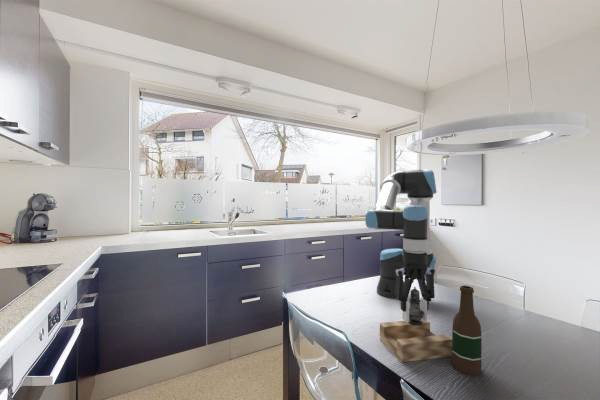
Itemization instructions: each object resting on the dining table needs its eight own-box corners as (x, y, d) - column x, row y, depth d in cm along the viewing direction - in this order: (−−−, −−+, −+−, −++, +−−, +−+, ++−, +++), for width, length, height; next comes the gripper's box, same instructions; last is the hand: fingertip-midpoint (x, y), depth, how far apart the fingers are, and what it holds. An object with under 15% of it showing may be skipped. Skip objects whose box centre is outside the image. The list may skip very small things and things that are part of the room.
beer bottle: (487, 370, 78) (487, 288, 78) (475, 380, 73) (475, 293, 73) (458, 357, 84) (458, 281, 84) (446, 365, 79) (446, 285, 79)
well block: (424, 333, 98) (424, 319, 98) (454, 356, 84) (454, 339, 84) (379, 338, 95) (379, 322, 95) (402, 362, 81) (402, 344, 81)
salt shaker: (401, 319, 91) (401, 285, 91) (414, 317, 93) (414, 283, 93) (414, 327, 86) (414, 290, 86) (428, 324, 88) (428, 288, 88)
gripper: (432, 248, 95) (432, 313, 95) (383, 249, 92) (383, 316, 92) (447, 252, 88) (447, 322, 87) (395, 254, 84) (394, 327, 84)
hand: (414, 319), depth 90 cm, fingers closed on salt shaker, 6 cm apart
